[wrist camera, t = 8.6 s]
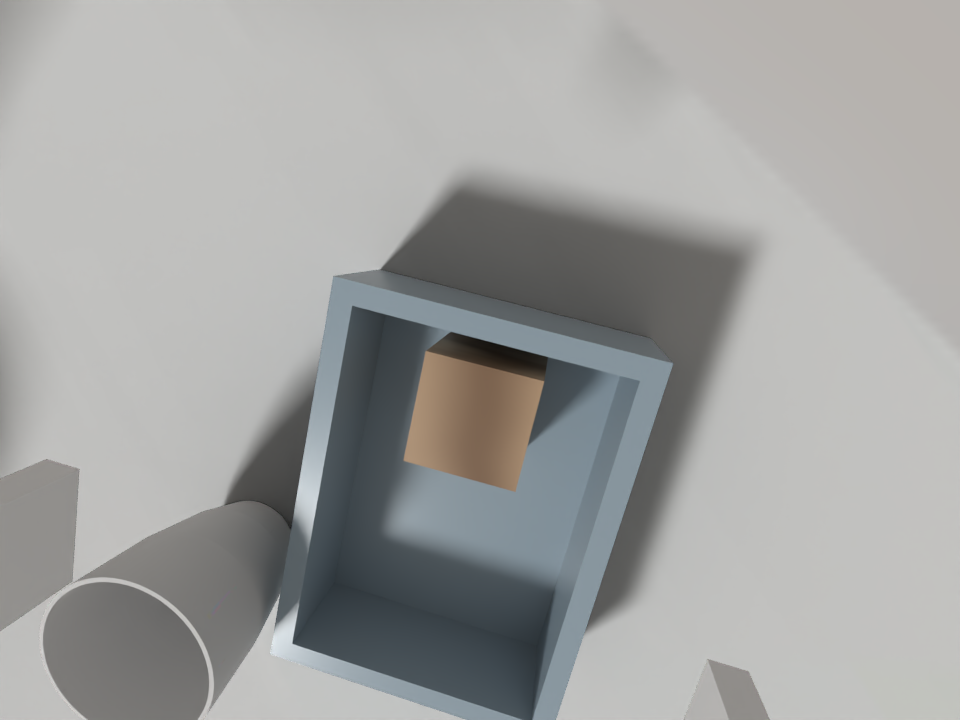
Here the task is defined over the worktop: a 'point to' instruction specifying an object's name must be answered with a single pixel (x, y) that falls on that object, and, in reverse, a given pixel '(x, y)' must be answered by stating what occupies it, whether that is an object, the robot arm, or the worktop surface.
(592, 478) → the tote
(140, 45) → the worktop surface
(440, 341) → the walnut cube
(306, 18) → the worktop surface
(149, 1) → the worktop surface
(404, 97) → the worktop surface
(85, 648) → the cup
